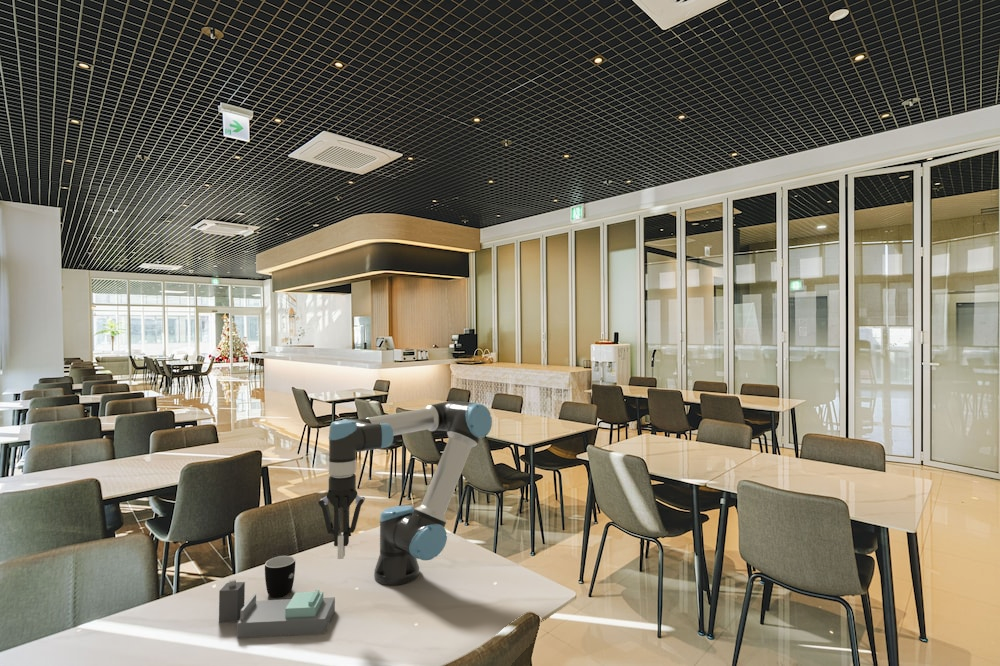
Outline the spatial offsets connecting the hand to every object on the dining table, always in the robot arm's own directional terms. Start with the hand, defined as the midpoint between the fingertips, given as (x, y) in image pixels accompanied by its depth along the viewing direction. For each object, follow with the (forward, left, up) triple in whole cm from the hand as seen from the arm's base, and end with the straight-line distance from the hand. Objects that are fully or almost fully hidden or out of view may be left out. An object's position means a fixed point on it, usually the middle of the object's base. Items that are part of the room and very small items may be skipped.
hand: (341, 556), depth 145 cm
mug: (+23, -20, -19) cm, 36 cm away
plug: (+32, -5, -18) cm, 37 cm away
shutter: (+10, 0, -14) cm, 17 cm away
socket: (+14, 0, -18) cm, 23 cm away
